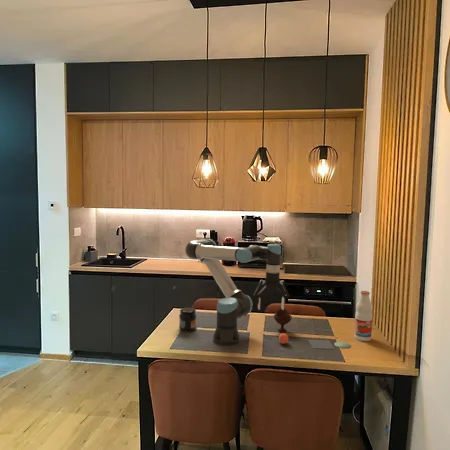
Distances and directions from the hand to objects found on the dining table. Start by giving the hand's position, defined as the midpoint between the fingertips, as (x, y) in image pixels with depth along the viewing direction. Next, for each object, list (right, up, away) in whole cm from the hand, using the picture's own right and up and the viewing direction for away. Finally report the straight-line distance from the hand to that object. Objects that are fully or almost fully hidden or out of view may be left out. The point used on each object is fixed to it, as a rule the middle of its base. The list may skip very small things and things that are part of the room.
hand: (270, 309), depth 212 cm
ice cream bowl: (+9, -18, +19) cm, 28 cm away
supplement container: (-49, -17, +19) cm, 55 cm away
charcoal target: (+28, -20, -1) cm, 34 cm away
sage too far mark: (+40, -20, -1) cm, 45 cm away
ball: (+7, -16, -1) cm, 18 cm away
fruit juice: (+55, -20, +10) cm, 59 cm away
